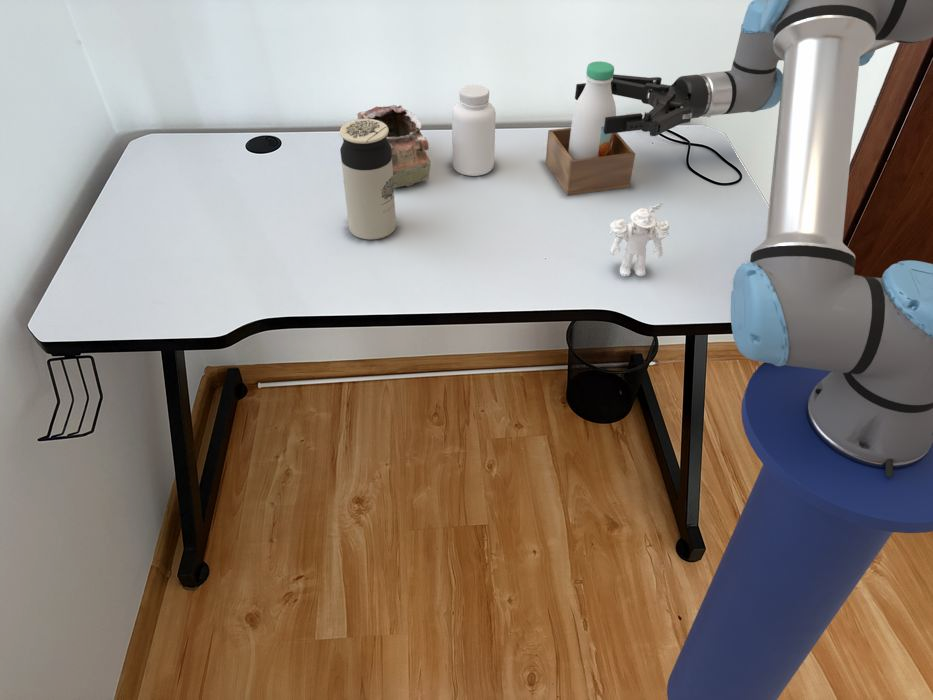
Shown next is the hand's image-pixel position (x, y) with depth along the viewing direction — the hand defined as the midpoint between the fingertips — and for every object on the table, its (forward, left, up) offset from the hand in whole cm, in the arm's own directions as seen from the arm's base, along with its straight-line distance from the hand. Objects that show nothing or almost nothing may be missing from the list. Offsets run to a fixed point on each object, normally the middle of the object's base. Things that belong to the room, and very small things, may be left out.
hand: (590, 108), depth 133 cm
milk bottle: (0, -1, -13) cm, 13 cm away
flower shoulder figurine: (-30, +3, -13) cm, 33 cm away
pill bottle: (+8, +19, -13) cm, 25 cm away
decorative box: (+12, +35, -14) cm, 39 cm away
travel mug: (-8, +41, -13) cm, 44 cm away
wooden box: (0, -1, -13) cm, 13 cm away
